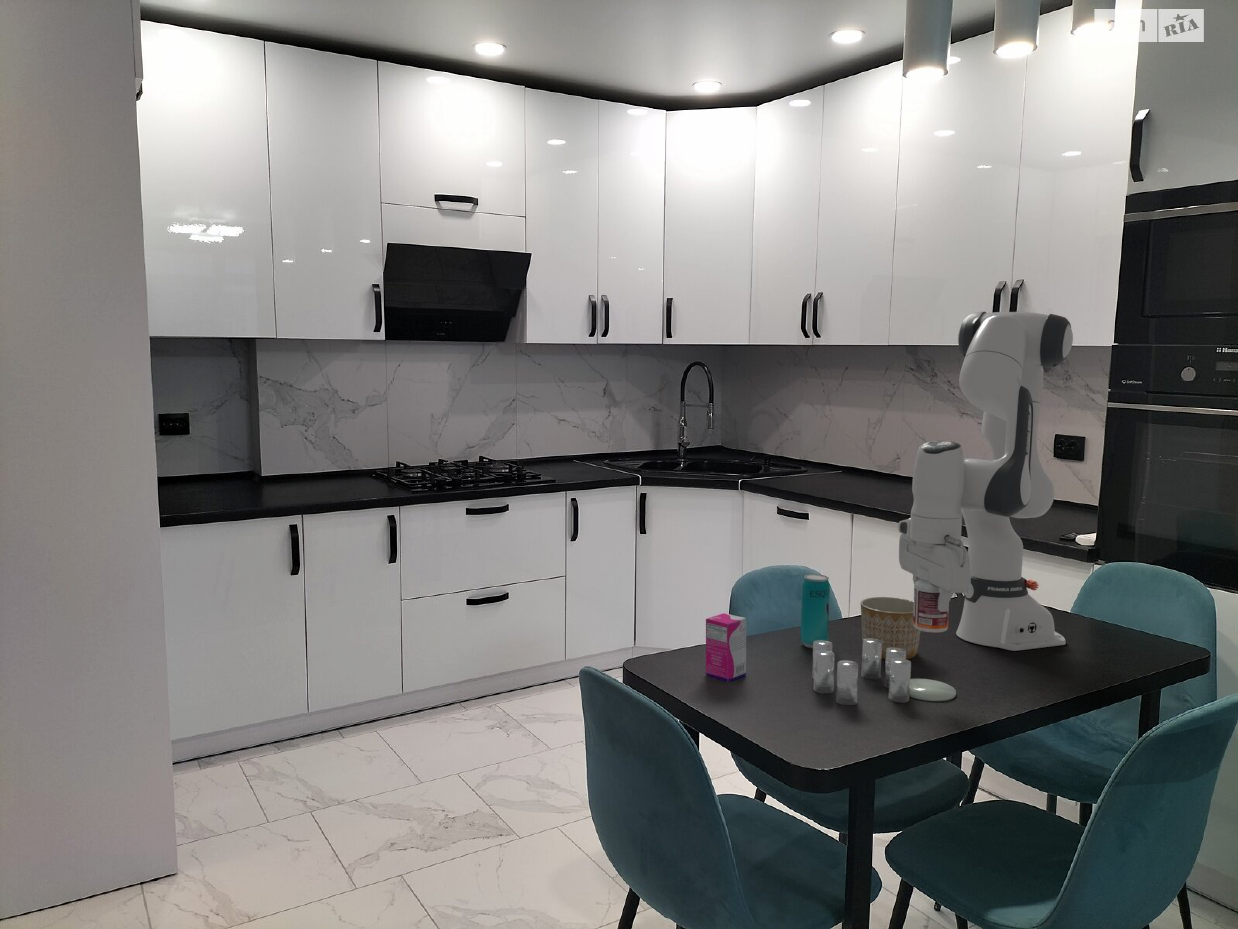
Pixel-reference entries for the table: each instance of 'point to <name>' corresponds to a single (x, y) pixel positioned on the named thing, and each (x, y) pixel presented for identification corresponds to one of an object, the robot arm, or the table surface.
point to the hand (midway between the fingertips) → (931, 605)
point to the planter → (890, 624)
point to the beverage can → (814, 609)
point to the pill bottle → (927, 605)
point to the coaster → (931, 690)
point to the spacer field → (871, 669)
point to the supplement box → (726, 647)
